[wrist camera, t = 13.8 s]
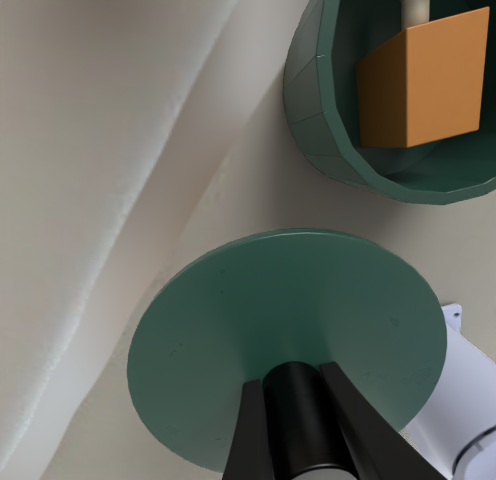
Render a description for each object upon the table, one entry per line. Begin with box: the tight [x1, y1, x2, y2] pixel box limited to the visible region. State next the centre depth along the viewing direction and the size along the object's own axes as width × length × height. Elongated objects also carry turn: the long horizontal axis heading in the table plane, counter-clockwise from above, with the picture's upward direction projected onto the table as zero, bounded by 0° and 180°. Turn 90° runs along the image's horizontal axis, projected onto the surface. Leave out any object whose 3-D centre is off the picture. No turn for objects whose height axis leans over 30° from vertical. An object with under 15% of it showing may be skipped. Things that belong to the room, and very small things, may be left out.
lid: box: [127, 228, 447, 480], centre depth 9 cm, size 13×13×5 cm
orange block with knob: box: [355, 0, 489, 148], centre depth 13 cm, size 8×4×5 cm, turn 12°
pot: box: [283, 0, 496, 205], centre depth 12 cm, size 12×12×6 cm
